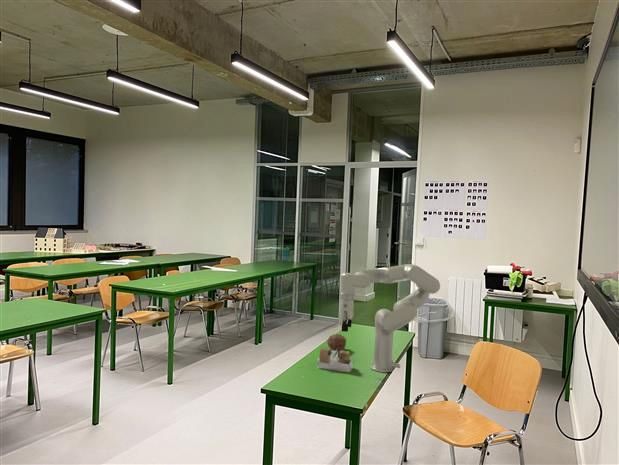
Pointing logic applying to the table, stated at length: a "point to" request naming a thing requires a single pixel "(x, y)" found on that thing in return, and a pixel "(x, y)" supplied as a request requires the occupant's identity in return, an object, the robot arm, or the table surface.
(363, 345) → the table surface
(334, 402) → the table surface
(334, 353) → the metal bracket
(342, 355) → the wood grain cube
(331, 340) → the decorative rock
